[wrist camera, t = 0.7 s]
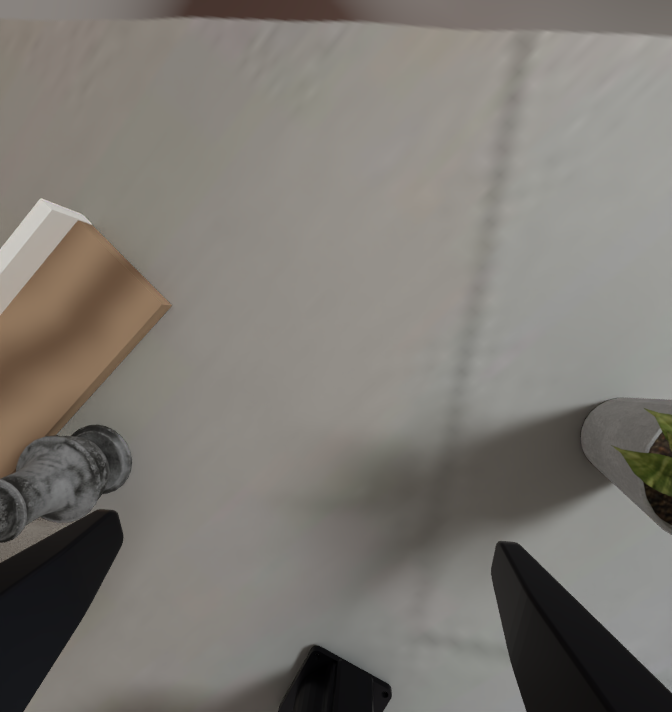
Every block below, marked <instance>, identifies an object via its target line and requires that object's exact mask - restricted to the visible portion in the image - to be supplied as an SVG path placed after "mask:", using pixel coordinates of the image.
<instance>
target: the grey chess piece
mask: <svg viewBox="0 0 672 712" xmlns="http://www.w3.org/2000/svg"><path fill="white" fill-rule="evenodd" d="M131 465H132V459H131V452H130V450H129V448H128V445H127V443H126V442H125V441H124V439H123V438H122V436H120V435H119V434H118V433H117V432H116V431H114V430H112V429H110V428H108V427H106V426H101V425H89V426H86V427H84V428H81V429H79V430H78V431H76V432H75V433H74V434H73V435H72V436H58V435H54V436H45V437H42V438H40V439H37V440H34V441H33V442H32V443H31V444H29V445H28V446H27V447H26V448H25V449H24V451H23V452H22V454H21V455H20V457H19V460H18V463H17V466H16V472H15V473H13V474H10V475H8V476H6V477H3V478H1V479H0V543H2V542H7V541H10V540H13V539H14V538H15V537H17V536H18V535H19V534H20V533H21V532H22V530H23V529H24V527H25V525H27V524H29V523H30V522H32V521H34V520H36V519H37V518H39V517H42V518H44V519H46V520H48V521H52V522H57V523H70V522H73V521H76V520H78V519H81V518H82V517H83V516H85V515H86V514H88V513H89V512H90V511H91V509H92V508H93V507H94V506H95V504H96V502H97V500H98V499H99V497H100V496H101V495H102V494H106V493H110V492H112V491H115V490H117V489H118V488H119V487H121V486H122V485H123V484H124V483H125V481H126V480H127V479H128V477H129V474H130V472H131Z"/></svg>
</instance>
